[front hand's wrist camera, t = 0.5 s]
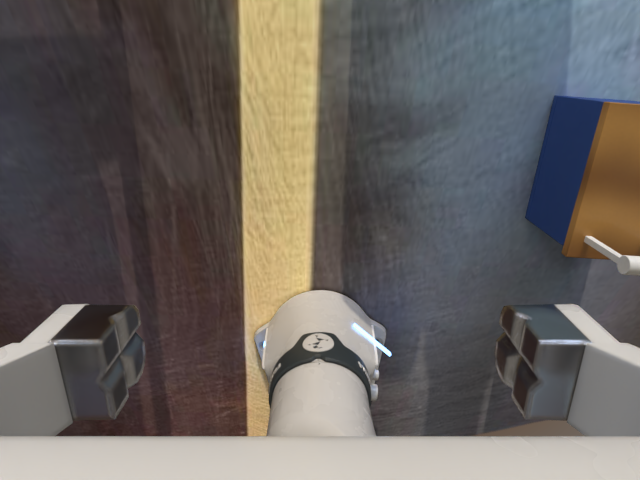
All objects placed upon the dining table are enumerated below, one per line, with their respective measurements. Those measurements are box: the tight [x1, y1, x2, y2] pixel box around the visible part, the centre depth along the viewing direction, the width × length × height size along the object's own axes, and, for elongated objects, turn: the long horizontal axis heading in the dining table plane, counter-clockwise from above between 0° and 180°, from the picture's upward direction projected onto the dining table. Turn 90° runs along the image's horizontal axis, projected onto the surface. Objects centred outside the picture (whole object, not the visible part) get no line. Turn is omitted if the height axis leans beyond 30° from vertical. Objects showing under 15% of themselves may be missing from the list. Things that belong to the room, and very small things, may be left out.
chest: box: [525, 96, 640, 246], centre depth 51 cm, size 15×10×10 cm, turn 176°
